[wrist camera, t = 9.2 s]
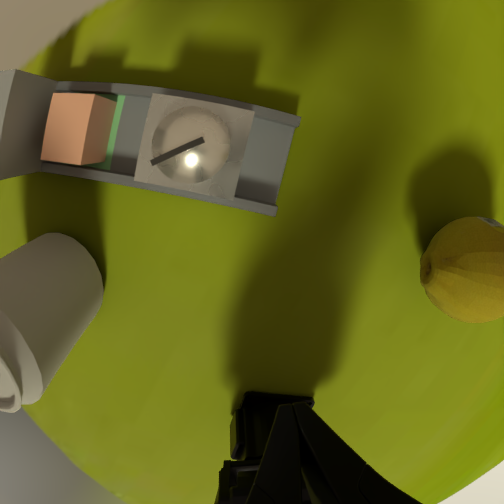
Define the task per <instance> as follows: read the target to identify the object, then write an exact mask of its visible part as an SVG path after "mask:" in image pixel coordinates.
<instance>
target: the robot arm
mask: <svg viewBox="0 0 504 504" xmlns="http://www.w3.org/2000/svg"><path fill="white" fill-rule="evenodd" d="M308 402H309V403H308ZM314 403H315V402H314V399H313V398H312V397H300V396H287V395H276V394H267V393H258V392H246V393H245V394H244V397H243V400H242V403H241V406H240V408H239V409H237V410H235V412H234V415H233V418H232V421H231V424H230V455H231V458H232V459H234V460H237V461H231V460H224V465H223V468H221V471H219V488H218V492H217V496H216V499H215V503H214V504H422V503H420V502H419V501H417V500H416V499H414V498H412V497H411V496H409V495H408V494H406V493H405V492H403V491H401V490H400V489H398V488H397V487H395V486H394V485H393V484H391V483H390V482H388V481H387V480H386V479H384V478H383V477H382V476H381V475H380V474H379V473H377V472H376V471H375V470H374V469H373V468H372V467H371V466H370V465H369V464H367V463H366V462H365V461H364V460H363V459H362V458H361V457H360V456H359V455H358V454H357V453H356V452H355V451H354V450H353V449H352V448H351V447H350V446H349V445H347V444H346V443H345V442H344V441H343V440H342V439H341V438H340V437H339V436H338V435H337V434H336V433H335V432H334V431H333V430H332V429H331V428H330V427H329V426H328V425H327V424H326V423H325V422H324V421H323V420H322V419H321V418H320V417H319V416H318V415H317V414H316V413H315V412H314V411H313V410H312V407H313V406H314ZM366 464H367V465H366Z"/></svg>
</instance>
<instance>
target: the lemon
mask: <svg viewBox="0 0 504 504" xmlns="http://www.w3.org/2000/svg"><path fill="white" fill-rule="evenodd" d="M420 265H421V268H420V280H421V284H422V286H423V287H424V288H425V291H426V294H427V295H428V297H429V299H430V300H431V302H432V303H433V304H434V305H435V306H437V307H438V308H439V309H440V310H441V311H443V312H444V313H445V314H447V315H448V316H450V317H451V318H454V319H456V320H459V321H463V322H469V323H483V322H488V321H492V320H495V319H497V318H500V317H502V316H503V315H504V226H503V225H502V224H500V223H499V222H497V221H496V220H494V219H489V218H484V217H464V218H459V219H456V220H454V221H452V222H450V223H448V224H447V225H445V226H444V227H443V228H442V229H441V230H439V231H438V232H437V233H436V234H435V235H434V237H433V238H432V240H431V242H430V244H429V246H428V247H427V249H426V251H425V252H424V254H423V255H422V256H421V259H420Z"/></svg>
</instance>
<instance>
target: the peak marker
mask: <svg viewBox="0 0 504 504" xmlns="http://www.w3.org/2000/svg"><path fill="white" fill-rule="evenodd" d="M116 105H117V102H115V101H112V100H109V99H107V98H104V97H101V96H98V95H96V94H80V93H53V95H52V100H51V104H50V108H49V113H48V118H47V123H46V128H45V134H44V140H43V146H42V153H41V160H47V161H55V162H62V163H69V164H76V165H85V164H92V163H99V162H105V158H106V152H107V147H108V142H109V137H110V132H111V127H112V122H113V118H114V114H115V109H116Z"/></svg>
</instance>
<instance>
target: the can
mask: <svg viewBox="0 0 504 504" xmlns="http://www.w3.org/2000/svg"><path fill="white" fill-rule="evenodd" d="M103 293H104V290H103V283H102V276H101V274H100V272H99V269H98V267H97V265H96V262H95V260H94V259H93V258H92V256H91V255H90V254H89V252H88V251H87V250H86V248H85V247H84V246H82V245H81V244H80V243H79V242H77V241H76V240H75V239H74V238H72V237H69V236H67V235H64V234H62V233H46V234H44V235H42V236H39V237H37V238H35V239H34V240H32V241H30V242H28V243H27V244H25V245H23V246H21V247H20V248H18V249H16V250H14V251H13V252H11V253H9V254H8V255H6V256H4V257H3V258H1V259H0V411H3V412H12V413H14V412H16V411H17V410H19V409H20V407H21V404H33V403H34V402H36V401H38V400H39V399H40V398H41V396H42V395H43V393H44V391H45V390H46V388H47V386H48V385H49V383H50V382H51V380H52V379H53V377H54V375H55V374H56V372H57V371H58V369H59V368H60V366H61V365H62V363H63V362H64V360H65V359H66V357H67V356H68V354H69V353H70V351H71V350H72V348H73V347H74V345H75V344H76V342H77V341H78V340H79V338H80V337H81V335H82V334H83V332H84V331H85V330H86V328H87V327H88V325H89V324H90V323H91V321H92V320H93V318H94V317H95V316H96V314H97V312H98V310H99V309H100V307H101V305H102V300H103Z"/></svg>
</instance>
